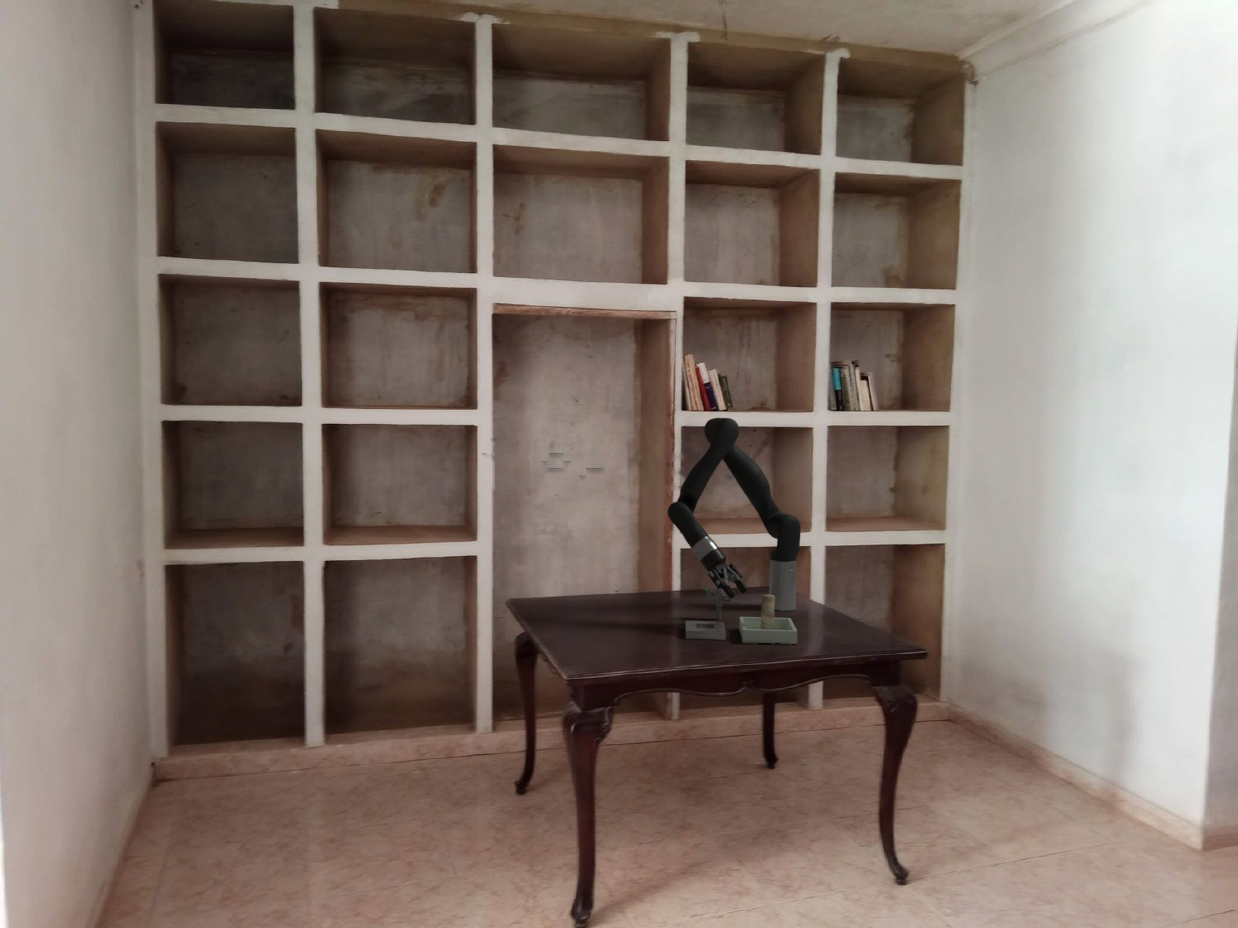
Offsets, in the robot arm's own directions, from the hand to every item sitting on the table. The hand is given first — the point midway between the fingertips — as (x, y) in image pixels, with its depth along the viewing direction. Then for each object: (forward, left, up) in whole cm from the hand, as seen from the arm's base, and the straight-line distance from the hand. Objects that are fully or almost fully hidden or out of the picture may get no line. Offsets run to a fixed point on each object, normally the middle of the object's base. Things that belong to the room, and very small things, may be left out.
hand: (739, 594), depth 268 cm
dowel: (+7, +8, -11) cm, 15 cm away
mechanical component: (-13, -6, -12) cm, 18 cm away
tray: (+7, +8, -11) cm, 16 cm away
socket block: (+6, -11, -11) cm, 17 cm away
